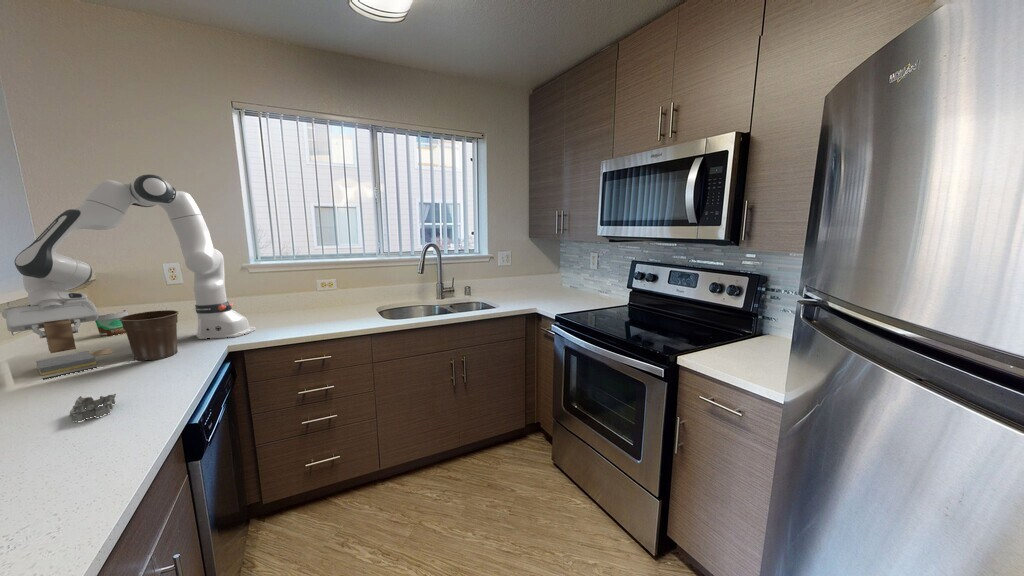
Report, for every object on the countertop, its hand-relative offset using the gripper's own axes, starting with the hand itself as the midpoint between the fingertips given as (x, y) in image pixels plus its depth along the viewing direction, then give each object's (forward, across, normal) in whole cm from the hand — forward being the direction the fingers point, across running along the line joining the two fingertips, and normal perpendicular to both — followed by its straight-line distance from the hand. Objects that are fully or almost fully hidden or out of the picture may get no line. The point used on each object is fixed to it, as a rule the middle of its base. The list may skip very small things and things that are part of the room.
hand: (59, 334), depth 128 cm
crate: (+3, 0, +4) cm, 5 cm away
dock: (+9, 0, +9) cm, 13 cm away
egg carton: (+46, 0, -27) cm, 54 cm away
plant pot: (+14, +22, +4) cm, 26 cm away
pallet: (+1, +9, +17) cm, 19 cm away
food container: (-25, +20, +44) cm, 55 cm away
